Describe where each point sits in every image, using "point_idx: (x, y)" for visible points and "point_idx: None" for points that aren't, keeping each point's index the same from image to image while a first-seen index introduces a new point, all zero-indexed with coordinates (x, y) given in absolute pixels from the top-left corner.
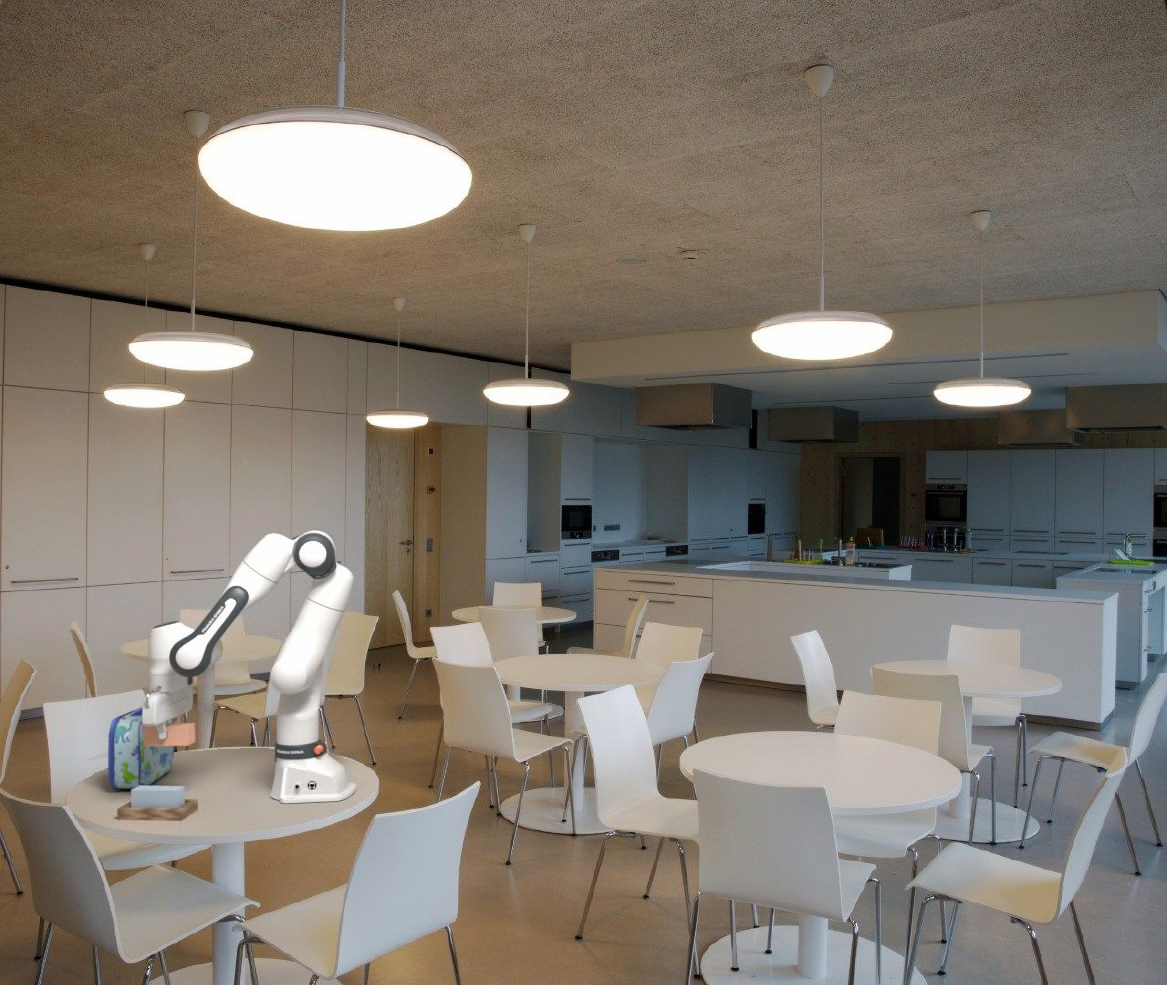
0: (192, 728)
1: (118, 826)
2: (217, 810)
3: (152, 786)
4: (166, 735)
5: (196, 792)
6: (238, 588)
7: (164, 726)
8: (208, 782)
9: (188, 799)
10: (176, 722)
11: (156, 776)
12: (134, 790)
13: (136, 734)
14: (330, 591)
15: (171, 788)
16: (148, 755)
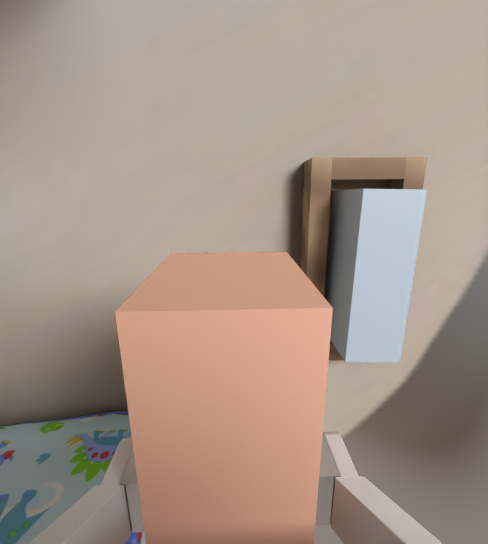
0: (197, 289)
1: (441, 311)
2: (313, 87)
3: (360, 312)
4: (322, 444)
5: (133, 254)
6: None
7: (414, 535)
8: (24, 268)
9: (313, 191)
10: (87, 536)
11: (60, 423)
12: (400, 349)
13: None
14: None
15: (391, 228)
16: (67, 496)
